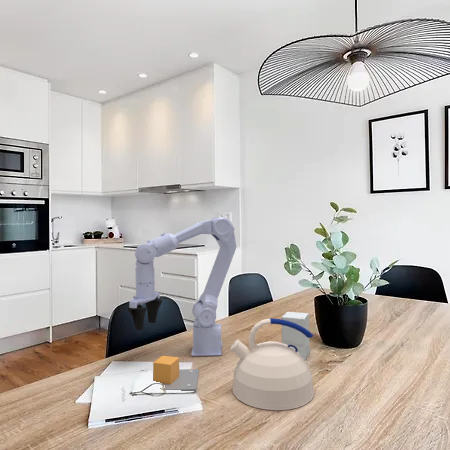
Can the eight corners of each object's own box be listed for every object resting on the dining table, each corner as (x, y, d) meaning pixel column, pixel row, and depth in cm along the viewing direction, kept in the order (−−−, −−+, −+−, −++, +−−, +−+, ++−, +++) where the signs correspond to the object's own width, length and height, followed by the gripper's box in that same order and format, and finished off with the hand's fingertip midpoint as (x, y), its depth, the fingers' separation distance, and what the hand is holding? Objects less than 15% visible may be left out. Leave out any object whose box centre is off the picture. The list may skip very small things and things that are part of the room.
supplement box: (310, 352, 116) (310, 313, 116) (305, 360, 109) (304, 318, 109) (287, 349, 119) (287, 310, 119) (281, 357, 112) (281, 316, 112)
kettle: (231, 373, 101) (230, 308, 101) (306, 373, 100) (305, 308, 100) (230, 411, 81) (229, 331, 81) (323, 411, 80) (322, 330, 80)
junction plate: (198, 372, 101) (198, 356, 101) (196, 393, 89) (195, 374, 89) (141, 373, 101) (141, 357, 101) (131, 394, 89) (130, 376, 89)
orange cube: (162, 373, 98) (162, 355, 98) (179, 376, 97) (179, 357, 97) (153, 381, 94) (153, 362, 94) (170, 384, 92) (170, 364, 92)
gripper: (146, 278, 121) (146, 318, 121) (120, 286, 107) (121, 331, 107) (165, 279, 119) (165, 320, 119) (141, 287, 105) (141, 333, 105)
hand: (145, 325), depth 113 cm, fingers open, 7 cm apart
